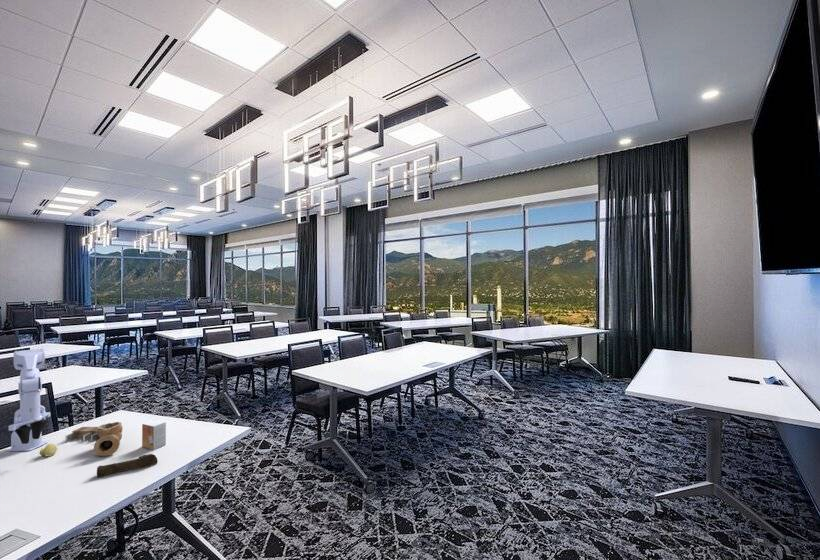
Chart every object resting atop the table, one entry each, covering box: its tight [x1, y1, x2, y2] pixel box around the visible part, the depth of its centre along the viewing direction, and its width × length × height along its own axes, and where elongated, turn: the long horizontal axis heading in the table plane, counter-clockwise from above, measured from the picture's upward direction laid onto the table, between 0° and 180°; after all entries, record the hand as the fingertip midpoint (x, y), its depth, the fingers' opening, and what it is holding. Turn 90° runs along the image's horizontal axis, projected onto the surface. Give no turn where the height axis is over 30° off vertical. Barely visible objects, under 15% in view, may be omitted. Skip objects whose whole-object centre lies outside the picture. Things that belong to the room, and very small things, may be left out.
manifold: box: [64, 426, 100, 443], centre depth 171 cm, size 18×9×4 cm, turn 90°
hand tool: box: [96, 453, 158, 478], centre depth 141 cm, size 19×4×5 cm, turn 116°
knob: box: [39, 442, 58, 457], centre depth 154 cm, size 5×5×5 cm
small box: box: [141, 419, 167, 451], centre depth 162 cm, size 8×6×10 cm
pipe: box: [93, 421, 123, 457], centre depth 159 cm, size 9×16×10 cm, turn 35°
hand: (30, 441), depth 147 cm, fingers open, 4 cm apart
